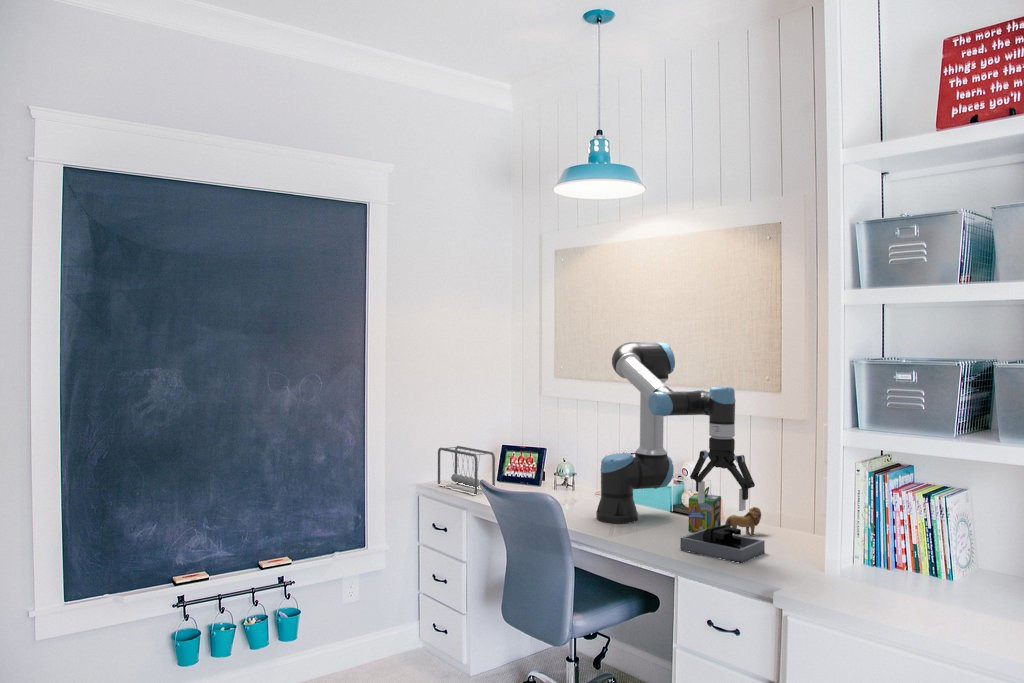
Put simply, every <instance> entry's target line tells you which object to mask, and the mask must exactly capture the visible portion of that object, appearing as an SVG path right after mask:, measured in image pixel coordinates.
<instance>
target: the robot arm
mask: <svg viewBox="0 0 1024 683" xmlns="http://www.w3.org/2000/svg"><path fill="white" fill-rule="evenodd" d="M611 366H612V368H613V370H614V371H615V373H616V374H617V375H618V376H619V377H621V378H623V379H625V380H627V381H628V382H629V383H630V384H631V385H632V386H634V388H636V390H638V391H639V393H640V396H639V397H640V398H639V402H640V404H639V406H640V408H639V412H640V413H639V447H638V448H637V449H636V450H635V456H633V454H632V453H627V452H623V453H620V452H619V453H612V454H609V455H605V456H604V457H603V458H602V459H601V461H600V462H601V465H600V498H599V500H600V501H598V502H599V503H598V506H597V510H596V511H595V512H596V513H595V518H596V520H598V521H600V522H603V523H609V524H630V523H629V522H631V523H635V522H637V521H638V520H639V512H638V510H637V507H636V504H635V500H634V490H643V489H644V490H645V489H646V490H647V489H654V490H655V489H658V488H659V489H660V488H666V487H668V485H669V484H670V483H671V482H672V480H673V476H674V470H675V469H674V464H673V460H672V458H671V457H670V456H669V455H668V451H667V450H666V449H665V448H664V422H665V421H664V419H665V418H664V417H668V416H669V417H670V416H708V418H709V428H708V429H709V431H708V433H709V434H708V435H709V436H710V437H709V439H708V442H709V443H708V450H709V451H707V450H706V449H705V450H700V451H699V457H698V460H697V461H696V464H695V465H694V467H693V470H692V472H691V473H690V476H689V477H690V479H691V480H694V481H695V491H696V492H695V493H698V503H699V504H701V503H704V502H705V489H706V488H705V487H706V483H705V480H704V479H705V478H706V477H707V476H708V474H709V473H710V472H711V471H712V470H713V469H714V468H721V469H727V471H728V472H730V474H731V475H732V476H733V478H734V479H735V481H736V482H737V483H738V485H739V486H740V488H739V490H738V499H739V500H738V511H739V512H743V511H745V510H746V508H747V507H746V506H747V504H746V501H747V500H749V489H752V488H754V487H755V486H756V485H755V482H754V480H753V477H752V475H751V473H750V471H749V468H748V466H747V464H746V457H745V455H744V454H740V455H736V454H735V448H736V446H735V444H736V443H735V436H736V434H735V433H736V432H735V430H736V428H735V427H736V426H735V424H736V423H735V422H736V401H737V400H736V396H735V395H736V394H735V389H734V388H733V387H732V386H731V387H730V386H711V387H710V388H709V391H705V390H702V389H701V390H698V389H697V390H693V391H692V390H691V391H673V390H672V389H671V388H670V387H669V386H668V385H667V384H665V383H666V382H667V381H668V380H669V375H670V374H672V373H673V372H674V369H675V367H676V358H675V354H674V352H673V349H672V348H671V346H670V345H668V344H667V343H665V342H656V341H655V342H654V341H653V342H652V341H651V342H649V341H647V342H645V341H644V342H638V341H637V342H634V341H632V342H625V343H623V344H620V346H618V347H617V348H616V349H615V350H614V352H613V354H612V357H611ZM707 458H709V460H710V461H709V462H708V463H707V464H706V466H705V467H704V468H703V466H704V464H705V462H706V460H707ZM734 461H735V462H736V463H737V466H738V467H739V470H740V471H739V470H738V468H737V466H736V464H735V463H734ZM702 468H703V469H702ZM634 521H635V522H634Z"/></svg>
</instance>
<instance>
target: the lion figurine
mask: <svg viewBox="0 0 1024 683" xmlns="http://www.w3.org/2000/svg"><path fill="white" fill-rule="evenodd" d="M761 518H762V511H761V509H760V508H759V507H758V506H757V507H756V506H752V507H751V508H749V511H748V512H747V513H746V514H745V515H744V516H743V515H740V516H739V515H735V514H732V515H729V516H728V517H727V518H726V521H725V524H724V525H726V524H730V525H731V527H733V528H737V529H738V527H740V528H745V534H746V535H751V536H752V535H756V534H755V528H756V527H757V526H758V525H759V523H760V521H761ZM733 535H738V534H734V533H733ZM738 536H740V535H738Z"/></svg>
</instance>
